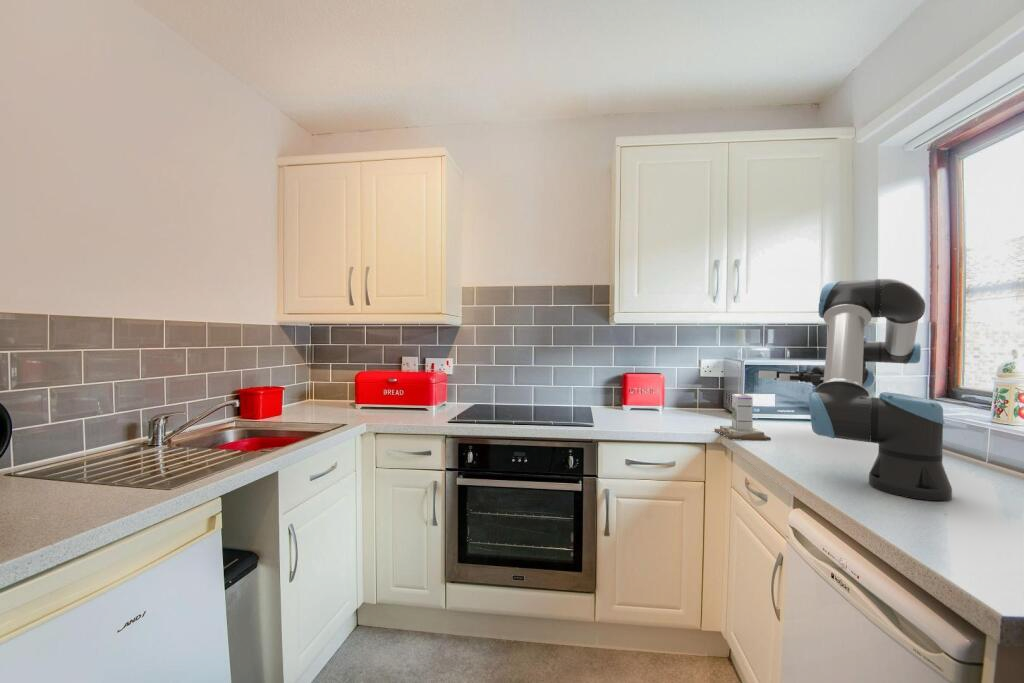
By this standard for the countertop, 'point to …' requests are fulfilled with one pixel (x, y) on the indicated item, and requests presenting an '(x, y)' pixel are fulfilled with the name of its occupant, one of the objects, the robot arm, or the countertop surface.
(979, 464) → the countertop surface
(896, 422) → the robot arm
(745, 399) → the syrup box
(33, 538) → the countertop surface
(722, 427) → the board
